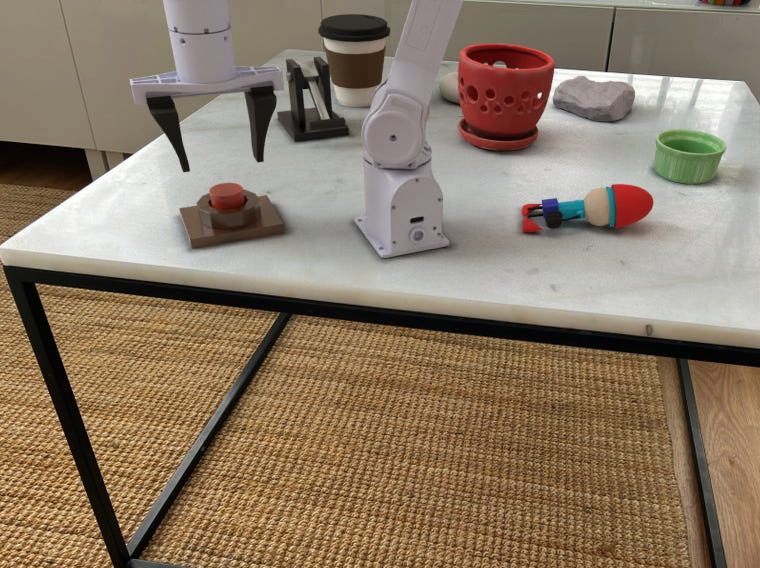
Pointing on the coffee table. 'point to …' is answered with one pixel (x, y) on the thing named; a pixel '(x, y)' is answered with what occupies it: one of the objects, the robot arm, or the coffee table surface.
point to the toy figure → (594, 208)
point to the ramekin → (688, 155)
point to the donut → (450, 87)
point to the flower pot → (503, 94)
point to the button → (227, 196)
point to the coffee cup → (355, 55)
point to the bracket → (300, 116)
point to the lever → (317, 99)
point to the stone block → (595, 98)
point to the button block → (230, 221)
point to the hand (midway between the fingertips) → (222, 163)
